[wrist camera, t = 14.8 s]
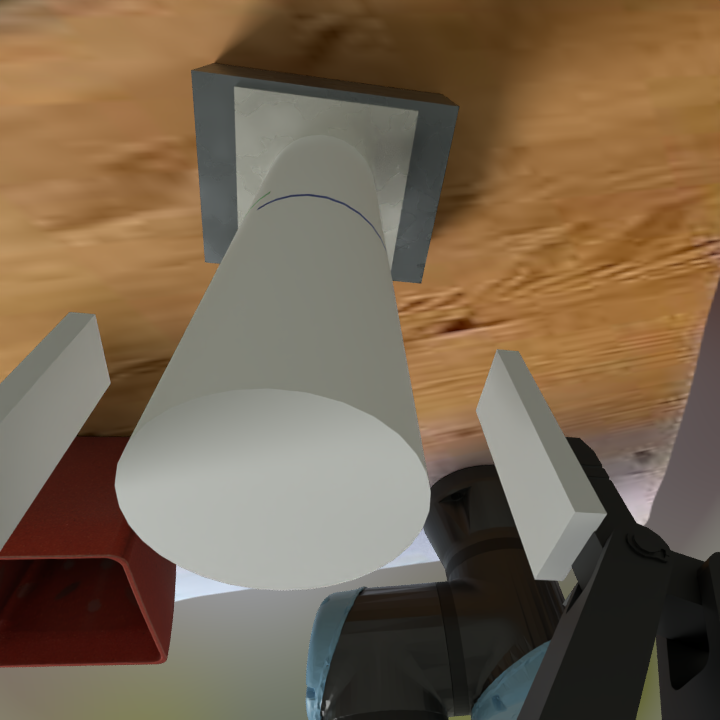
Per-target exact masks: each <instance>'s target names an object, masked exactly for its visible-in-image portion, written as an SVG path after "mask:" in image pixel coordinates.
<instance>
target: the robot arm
mask: <svg viewBox="0 0 720 720" xmlns="http://www.w3.org/2000/svg"><path fill="white" fill-rule="evenodd" d="M110 384H111V382H110V378H109V373H108V369H107V365H106V360H105V356H104V351H103V347H102V342H101V338H100V333H99V329H98V325H97V320H96V316H95V314H85V313H74V312H69V313H68V314H67V315H66V316H65V318H64V319H63V320H62V321H61V322H60V323H59V324H58V325H57V326H56V327H55V328H54V329H53V330H52V331H51V332H50V333H49V334H48V335H47V336H46V337H45V338H44V339H43V340H42V341H41V342H40V343H39V344H38V345H37V346H36V347H35V349H34V350H33V351H32V352H31V353H30V354H29V355H28V356H27V357H26V358H25V359H24V360H23V361H22V362H21V363H20V364H19V365H18V366H17V367H16V368H15V369H14V370H13V371H12V372H11V373H10V374H9V375H8V376H7V377H6V378H5V380H4V381H3V382H2V383H1V384H0V551H1V549H2V548H3V546H4V545H5V543H6V542H7V540H8V539H9V537H10V536H11V534H12V533H13V531H14V530H15V528H16V527H17V525H18V524H19V522H20V520H21V519H22V517H23V516H24V514H25V513H26V511H27V510H28V508H29V507H30V505H31V504H32V502H33V501H34V499H35V498H36V496H37V495H38V493H39V492H40V490H41V489H42V487H43V485H44V484H45V482H46V481H47V479H48V478H49V476H50V475H51V473H52V472H53V470H54V469H55V467H56V466H57V464H58V463H59V461H60V460H61V458H62V457H63V455H64V454H65V452H66V450H67V449H68V447H69V446H70V444H71V443H72V441H73V440H74V438H75V437H76V435H77V434H78V432H79V431H80V429H81V428H82V426H83V425H84V423H85V422H86V420H87V419H88V417H89V416H90V414H91V412H92V411H93V409H94V408H95V406H96V405H97V403H98V402H99V400H100V399H101V397H102V396H103V394H104V393H105V391H106V390H107V388H108V387H109V385H110ZM476 412H477V415H478V418H479V421H480V424H481V426H482V429H483V432H484V435H485V438H486V441H487V444H488V446H489V449H490V452H491V455H492V458H493V461H494V464H495V466H477V467H471V468H467V469H463V470H460V471H457V472H455V473H452V474H450V475H448V476H446V477H444V478H443V479H441V480H440V481H438V482H437V483H436V484H435V485H433V486H432V487H431V488H430V490H431V495H430V509H429V513H428V516H427V518H426V521H425V523H424V526H423V528H424V531H425V534H426V536H427V538H428V539H429V541H430V543H431V545H432V547H433V548H434V550H435V552H436V554H437V556H438V557H439V559H440V561H441V563H442V564H443V566H444V568H445V571H446V576H447V581H446V582H433V583H422V584H411V585H401V586H387V587H374V588H367V587H361V588H359V589H356V590H351V591H344V592H337V593H333V594H331V595H329V596H328V597H326V598H325V599H324V601H323V602H322V604H321V605H320V607H319V609H318V612H317V614H316V617H315V620H314V624H313V628H312V633H311V639H310V644H309V652H308V661H307V672H306V685H307V686H308V687H307V692H306V709H307V716H308V719H309V720H448V718H449V717H453V716H464V715H471V720H636V716H637V711H638V707H639V703H640V699H641V695H642V691H643V687H644V682H645V679H646V674H647V670H648V666H649V662H650V658H651V654H652V650H653V646H654V642H655V637H656V645H657V658H658V672H659V686H660V699H661V714H662V720H720V552H716V553H714V554H713V555H711V556H710V557H709V558H708V559H707V561H705V562H704V561H701V560H697V559H694V558H692V557H689V556H685V555H683V554H679V553H676V552H673V551H671V550H670V548H669V546H668V545H667V544H666V543H665V541H664V540H663V539H662V538H661V537H660V536H659V535H657V534H656V533H655V532H653V531H652V530H650V529H649V528H647V527H644V526H642V525H640V524H637V523H636V521H635V520H634V518H633V516H632V515H631V513H630V511H629V510H628V508H627V506H626V505H625V503H624V501H623V500H622V498H621V496H620V495H619V493H618V491H617V489H616V488H615V486H614V484H613V483H612V481H611V480H609V476H608V474H607V473H606V471H605V469H604V468H602V464H601V463H600V461H599V459H598V458H597V456H596V454H595V452H594V451H593V450H592V449H591V448H590V447H589V446H588V445H587V444H585V443H584V442H583V441H582V440H581V439H580V438H572V437H565V436H564V434H563V432H562V430H561V428H560V427H559V425H558V423H557V421H556V419H555V417H554V416H553V414H552V412H551V410H550V408H549V406H548V405H547V403H546V401H545V399H544V397H543V395H542V394H541V392H540V390H539V388H538V386H537V384H536V383H535V381H534V379H533V377H532V375H531V373H530V372H529V370H528V368H527V366H526V364H525V362H524V361H523V359H522V357H521V355H520V353H519V351H508V350H497V351H496V354H495V357H494V360H493V362H492V365H491V368H490V371H489V374H488V377H487V380H486V383H485V386H484V389H483V392H482V394H481V397H480V400H479V403H478V406H477V409H476ZM571 568H572V569H573V571H574V573H575V576H576V578H577V580H578V583H577V584H576V586H575V587H574V588H573V590H572V591H571V593H570V594H569V596H568V597H567V599H566V600H565V599H564V596H563V594H562V591H561V589H560V586H559V583H558V581H563V580H564V578H565V577H566V576H567V574H568V572H569V571H570V569H571Z"/></svg>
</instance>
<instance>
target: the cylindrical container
mask: <svg viewBox="0 0 720 720" xmlns="http://www.w3.org/2000/svg"><path fill="white" fill-rule="evenodd" d="M115 489H116V494H117V499H118V504H119V507H120V509H121V511H122V513H123V515H124V516H125V518H126V520H127V522H128V524H129V525H130V527H131V528H132V529H133V530H134V531H135V533H136V534H137V535H138V536H139V537H140V538H141V540H142V541H143V542H145V543H146V544H147V545H148V546H150V547H151V548H152V549H153V550H154V551H156V552H157V553H158V554H159V555H161V556H163V557H164V558H166V559H168V560H169V561H171V562H173V563H174V564H176V565H178V566H179V567H181V568H184V569H186V570H188V571H191V572H193V573H195V574H198V575H200V576H203V577H205V578H209V579H212V580H216V581H219V582H223V583H226V584H230V585H236V586H242V587H248V588H253V589H265V590H283V591H284V590H304V589H314V588H319V587H326V586H332V585H336V584H340V583H344V582H347V581H351V580H354V579H357V578H359V577H362V576H364V575H366V574H369V573H372V572H374V571H376V570H377V569H379V568H381V567H383V566H384V565H386V564H388V563H389V562H391V561H393V560H394V559H395V558H396V557H398V556H399V555H400V554H401V553H402V552H403V551H405V550H406V549H407V548H408V547H409V546H410V545H411V544H412V542H413V541H414V540H415V538H416V537H417V536H418V534H419V533H420V532H421V530H422V529H423V526H424V523H425V521H426V518H427V516H428V513H429V509H430V495H431V490H430V485H429V479H428V474H427V468H426V463H425V458H424V452H423V447H422V441H421V436H420V430H419V425H418V420H417V414H416V409H415V403H414V398H413V392H412V387H411V382H410V376H409V371H408V365H407V360H406V354H405V349H404V344H403V338H402V332H401V327H400V321H399V316H398V310H397V305H396V299H395V294H394V288H393V282H392V277H391V271H390V266H389V260H388V255H387V250H386V244H385V239H384V233H383V228H382V223H381V217H380V212H379V206H378V200H377V195H376V189H375V184H374V179H373V175H372V172H371V170H370V167H369V165H368V164H367V162H366V161H365V159H364V157H363V156H362V155H361V154H360V153H359V152H358V151H357V150H356V149H355V148H354V147H353V146H351V145H350V144H348V143H347V142H345V141H343V140H341V139H338V138H336V137H333V136H327V135H310V136H306V137H302V138H299V139H297V140H295V141H293V142H291V143H290V144H289V145H287V146H286V147H285V148H284V149H282V151H281V152H280V153H279V154H278V156H277V157H276V158H275V160H274V162H273V164H272V166H271V168H270V169H269V171H268V173H267V175H266V177H265V179H264V181H263V183H262V185H261V187H260V188H259V190H258V192H257V194H256V196H255V198H254V200H253V202H252V204H251V206H250V208H249V209H248V211H247V213H246V215H245V217H244V219H243V221H242V223H241V225H240V227H239V229H238V230H237V232H236V234H235V236H234V238H233V240H232V242H231V244H230V246H229V248H228V250H227V252H226V254H225V256H224V257H223V259H222V261H221V263H220V265H219V267H218V269H217V271H216V273H215V275H214V277H213V279H212V281H211V283H210V285H209V286H208V288H207V290H206V292H205V294H204V296H203V298H202V300H201V302H200V304H199V306H198V308H197V310H196V312H195V314H194V315H193V317H192V319H191V321H190V323H189V325H188V327H187V329H186V331H185V333H184V335H183V337H182V339H181V341H180V343H179V344H178V346H177V348H176V350H175V352H174V354H173V356H172V358H171V360H170V362H169V364H168V366H167V368H166V370H165V372H164V373H163V375H162V377H161V379H160V381H159V383H158V385H157V387H156V389H155V391H154V393H153V395H152V397H151V399H150V401H149V402H148V404H147V406H146V408H145V410H144V412H143V414H142V416H141V418H140V420H139V422H138V424H137V426H136V428H135V429H134V431H133V433H132V435H131V437H130V439H129V441H128V443H127V445H126V447H125V449H124V451H123V453H122V455H121V457H120V459H119V461H118V463H117V470H116V479H115Z"/></svg>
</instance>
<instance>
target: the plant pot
mask: <svg viewBox="0 0 720 720" xmlns="http://www.w3.org/2000/svg"><path fill="white" fill-rule="evenodd" d="M129 439H130V437H75V438H74V440H73V441H72V443H71V444H70V446H69V447H68V449H67V450H66V452H65V454H64V455H63V457H62V458H61V460H60V461H59V463H58V464H57V466H56V467H55V469H54V470H53V472H52V473H51V475H50V476H49V478H48V479H47V481H46V482H45V484H44V485H43V487H42V489H41V490H40V492H39V493H38V495H37V496H36V498H35V499H34V501H33V502H32V504H31V505H30V507H29V508H28V510H27V511H26V513H25V514H24V516H23V517H22V519H21V520H20V522H19V524H18V525H17V527H16V528H15V530H14V531H13V533H12V534H11V536H10V537H9V539H8V540H7V542H6V543H5V545H4V546H3V548H2V549H1V551H0V667H46V666H86V665H135V664H136V665H137V664H138V665H142V664H161V663H164V662H165V661H166V660H167V656H168V650H169V645H170V638H171V629H172V621H173V612H174V599H175V582H176V564H174V563H173V562H171V561H169V560H168V559H166V558H164V557H163V556H161V555H159V554H158V553H157V552H156V551H154V550H153V549H152V548H151V547H150V546H148V545H147V544H146V543H145V542H143V541H142V540H141V538H140V537H139V536H138V535H137V534H136V533H135V531H134V530H133V529H132V528H131V527H130V525H129V524H128V522H127V520H126V518H125V516H124V515H123V513H122V511H121V509H120V507H119V504H118V499H117V494H116V489H115V479H116V470H117V463H118V461H119V459H120V457H121V455H122V453H123V451H124V449H125V447H126V445H127V443H128V441H129Z"/></svg>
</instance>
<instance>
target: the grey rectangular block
mask: <svg viewBox="0 0 720 720" xmlns="http://www.w3.org/2000/svg"><path fill="white" fill-rule="evenodd" d="M191 74H192V88H193V101H194V115H195V129H196V143H197V157H198V171H199V185H200V198H201V212H202V226H203V240H204V254H205V262H208V263H219V264H220V263H221V261H222V259H223V257H224V256H225V254H226V252H227V250H228V248H229V246H230V244H231V242H232V240H233V238H234V236H235V234H236V232H237V230H238V229H239V227H240V225H241V223H242V221H243V219H244V217H245V215H246V213H247V211H248V209H249V208H250V206H251V204H252V202H253V200H254V198H255V196H256V194H257V192H258V190H259V188H260V187H261V185H262V183H263V181H264V179H265V177H266V175H267V173H268V171H269V169H270V168H271V166H272V164H273V162H274V160H275V158H276V157H277V156H278V154H279V153H280V152H281V151H282V149H284V148H285V147H286V146H287V145H289V144H290V143H291V142H293V141H295V140H297V139H299V138H302V137H306V136H310V135H327V136H333V137H336V138H338V139H341V140H343V141H345V142H347V143H348V144H350V145H351V146H353V147H354V148H355V149H356V150H357V151H358V152H359V153H360V154H361V155H362V156H363V157H364V159H365V161H366V162H367V164H368V165H369V167H370V170H371V172H372V175H373V179H374V184H375V189H376V195H377V200H378V206H379V212H380V217H381V223H382V228H383V233H384V239H385V244H386V250H387V255H388V260H389V266H390V271H391V277H392V281H402V282H412V283H421V281H422V277H423V272H424V267H425V263H426V258H427V253H428V249H429V244H430V240H431V235H432V230H433V226H434V221H435V216H436V212H437V207H438V202H439V198H440V193H441V189H442V184H443V179H444V175H445V170H446V165H447V161H448V156H449V152H450V147H451V142H452V138H453V133H454V128H455V124H456V119H457V115H458V110H459V106H458V105H456V104H455V103H454V102H452V101H451V100H449V99H448V98H447V97H445V96H444V95H443V94H436V93H429V92H421V91H414V90H407V89H400V88H392V87H385V86H378V85H371V84H363V83H356V82H349V81H341V80H334V79H327V78H320V77H312V76H305V75H298V74H291V73H283V72H276V71H269V70H261V69H254V68H247V67H240V66H232V65H225V64H218V63H212V64H209V65H206V66H203V67H200V68H197V69H194V70H191Z"/></svg>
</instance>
